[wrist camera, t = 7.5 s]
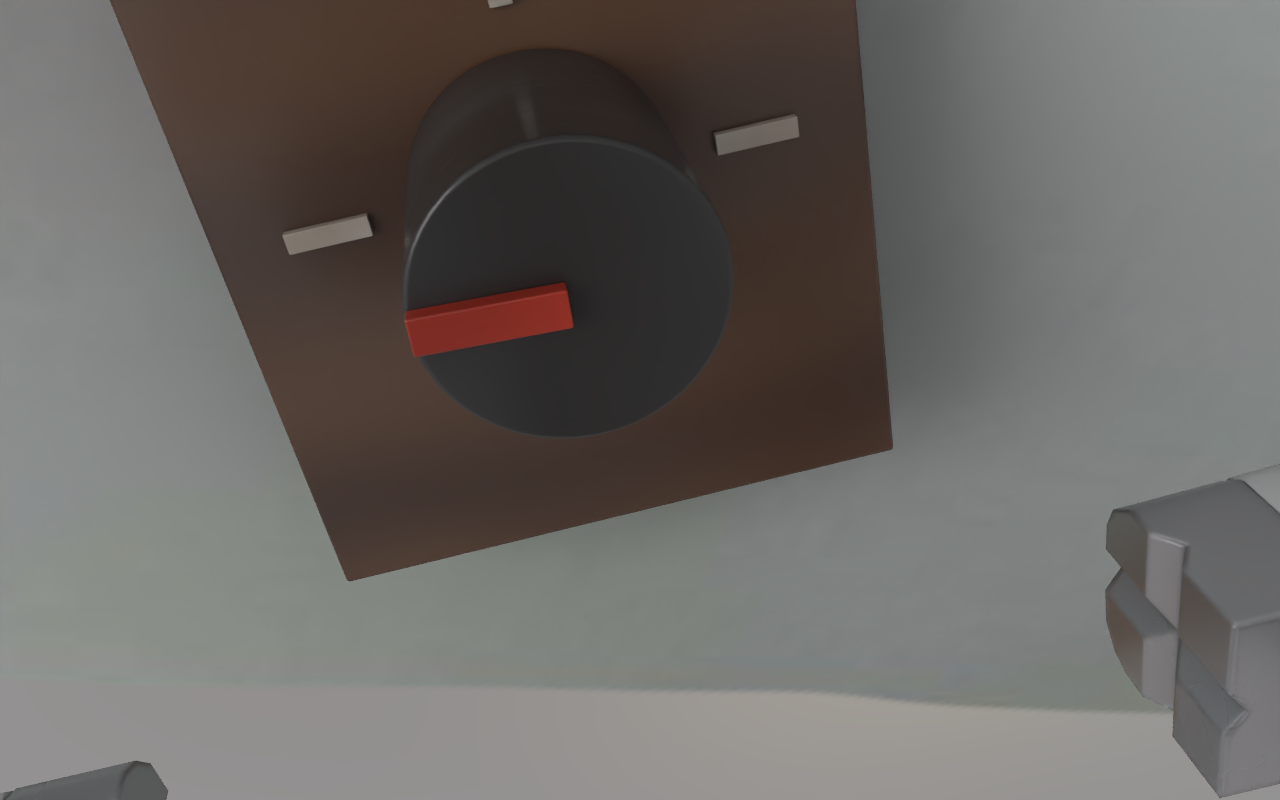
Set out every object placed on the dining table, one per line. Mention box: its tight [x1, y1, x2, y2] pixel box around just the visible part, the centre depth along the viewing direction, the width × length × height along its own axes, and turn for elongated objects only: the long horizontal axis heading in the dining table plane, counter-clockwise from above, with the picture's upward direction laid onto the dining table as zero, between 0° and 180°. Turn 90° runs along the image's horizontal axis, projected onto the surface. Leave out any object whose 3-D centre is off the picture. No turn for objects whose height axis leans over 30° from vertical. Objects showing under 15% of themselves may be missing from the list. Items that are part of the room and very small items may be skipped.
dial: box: [401, 49, 734, 439], centre depth 17 cm, size 4×4×5 cm
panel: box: [110, 0, 893, 581], centre depth 21 cm, size 14×11×3 cm
